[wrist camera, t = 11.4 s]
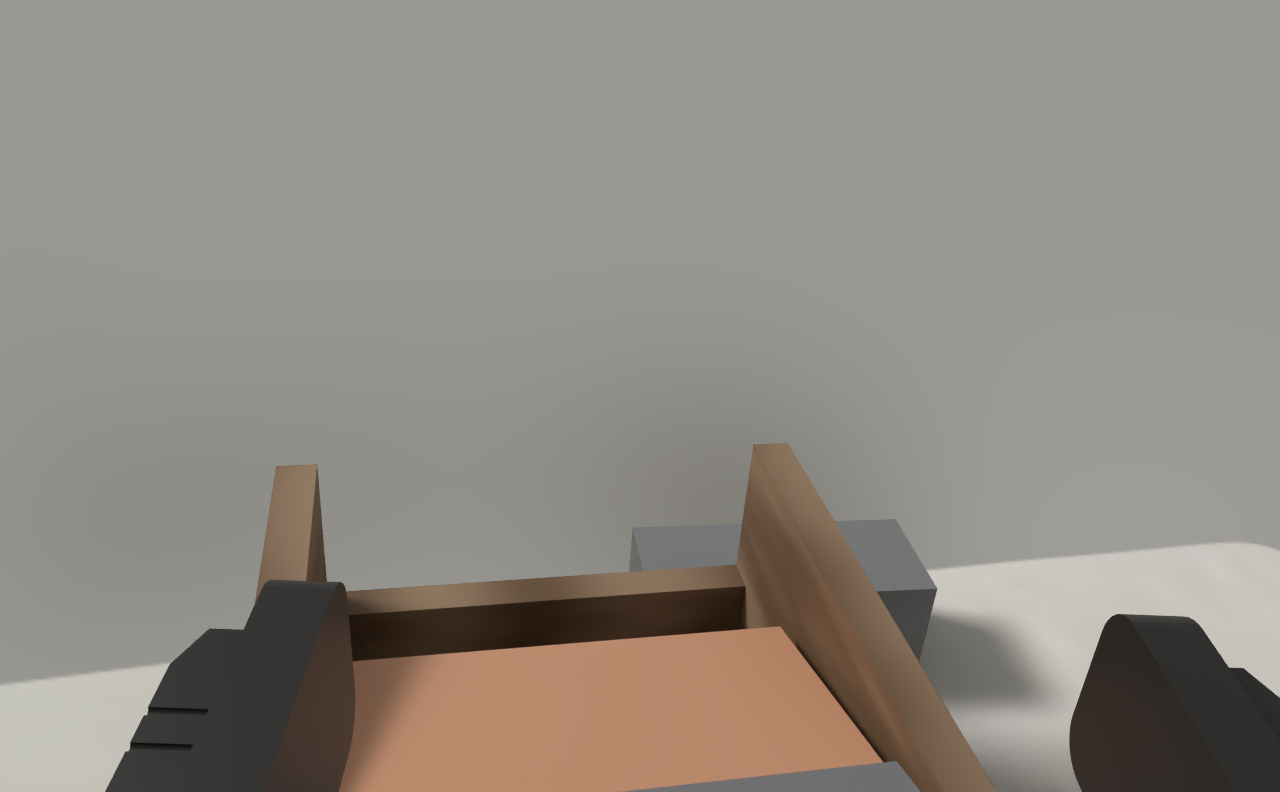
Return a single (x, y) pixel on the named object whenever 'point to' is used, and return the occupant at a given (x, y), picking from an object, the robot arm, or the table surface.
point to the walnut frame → (674, 611)
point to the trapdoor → (610, 720)
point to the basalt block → (869, 540)
